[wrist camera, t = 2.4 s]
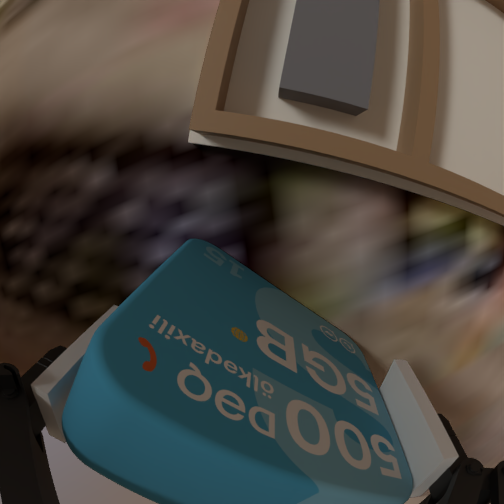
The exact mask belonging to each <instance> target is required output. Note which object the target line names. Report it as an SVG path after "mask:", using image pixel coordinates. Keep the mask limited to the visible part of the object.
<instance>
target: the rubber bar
mask: <svg viewBox="0 0 504 504" xmlns="http://www.w3.org/2000/svg"><path fill="white" fill-rule="evenodd" d="M379 2H380V0H296V5H295V10H294V15H293V20H292V25H291V30H290V35H289V40H288V45H287V50H286V55H285V60H284V65H283V70H282V75H281V81H280V86H279V93H278V98H283V99H288V100H293V101H298V102H302V103H307V104H311V105H315V106H320V107H324V108H328V109H332V110H336V111H339V112H343V113H347V114H350V115H354V116H357V115H359V114H361V113H362V112H364V111H366V110H368V107H369V100H370V93H371V86H372V78H373V70H374V61H375V52H376V42H377V31H378V18H379Z"/></svg>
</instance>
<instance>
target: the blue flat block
mask: <svg viewBox="0 0 504 504" xmlns="http://www.w3.org/2000/svg"><path fill="white" fill-rule="evenodd" d="M62 430H63V434H64V437H65V440H66V442H67V444H68V446H69V447H70V449H71V450H72V452H73V453H74V454H75V455H76V456H77V457H78V459H79V460H81V461H82V462H83V463H84V464H85V465H87V466H88V467H90V468H92V469H93V470H94V471H96V472H98V473H99V474H101V475H103V476H105V477H106V478H108V479H110V480H112V481H114V482H116V483H117V484H119V485H121V486H123V487H125V488H127V489H129V490H131V491H133V492H135V493H137V494H139V495H141V496H143V497H145V498H147V499H149V500H152V501H154V502H156V503H159V504H404V503H405V502H406V501H407V500H408V499H409V498H410V496H411V494H412V490H413V480H412V475H411V472H410V469H409V467H408V464H407V461H406V458H405V456H404V453H403V450H402V448H401V445H400V442H399V440H398V437H397V434H396V432H395V429H394V427H393V424H392V422H391V419H390V417H389V414H388V412H387V409H386V407H385V404H384V402H383V399H382V397H381V395H380V392H379V390H378V387H377V385H376V383H375V380H374V378H373V376H372V373H371V371H370V369H369V367H368V364H367V362H366V360H365V357H364V355H363V353H362V352H361V350H360V349H359V347H358V346H357V345H356V344H355V343H354V342H353V340H352V339H350V338H349V337H348V336H347V335H346V334H345V333H343V332H342V331H340V330H339V329H337V328H336V327H334V326H333V325H331V324H330V323H328V322H327V321H325V320H324V319H322V318H321V317H319V316H318V315H316V314H315V313H313V312H312V311H310V310H309V309H307V308H306V307H305V306H303V305H302V304H300V303H299V302H297V301H296V300H294V299H293V298H291V297H290V296H288V295H287V294H285V293H284V292H282V291H281V290H279V289H278V288H276V287H275V286H273V285H272V284H270V283H269V282H268V281H266V280H265V279H263V278H262V277H260V276H259V275H257V274H256V273H254V272H253V271H251V270H250V269H249V268H247V267H246V266H244V265H243V264H241V263H240V262H238V261H237V260H235V259H234V258H233V257H231V256H230V255H228V254H227V253H225V252H224V251H222V250H221V249H219V248H218V247H216V246H214V245H213V244H211V243H209V242H206V241H204V240H200V239H190V240H188V241H186V242H185V243H184V244H183V245H182V246H181V247H180V248H179V249H178V250H177V251H175V252H174V253H173V254H172V255H171V256H170V257H169V258H168V259H167V260H166V261H165V262H164V263H163V264H162V265H161V266H160V267H159V268H157V269H156V270H155V271H154V272H153V273H152V274H151V275H150V276H149V277H148V278H147V279H146V280H145V281H144V282H143V283H142V284H141V285H140V286H139V287H138V288H137V289H136V290H135V291H134V292H133V293H132V294H131V295H130V296H129V297H128V298H127V299H126V300H125V301H124V302H123V303H122V304H121V305H120V306H119V307H118V308H117V309H116V310H115V311H114V312H113V313H112V314H111V315H110V316H109V317H108V318H107V319H106V320H105V321H104V322H103V323H102V324H101V325H100V326H99V327H98V328H97V330H96V331H95V332H94V334H93V336H92V338H91V340H90V343H89V345H88V347H87V350H86V352H85V355H84V357H83V359H82V362H81V364H80V367H79V369H78V372H77V375H76V377H75V380H74V382H73V385H72V388H71V390H70V393H69V396H68V399H67V401H66V404H65V407H64V410H63V414H62Z"/></svg>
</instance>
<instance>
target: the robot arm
mask: <svg viewBox="0 0 504 504" xmlns="http://www.w3.org/2000/svg"><path fill="white" fill-rule="evenodd" d="M118 307H119V306H116V305H113V306H112V307H111V308H110V309H109V310H108V311H107V312H106V313H105V314H104V315H102V316H101V317H100V318H99V319H98V320H97V321H96V322H95V323H94V324H93V325H92V326H91V327H89V328H88V329H87V330H86V331H85V332H84V333H83V334H82V335H81V336H80V337H79V338H78V339H77V340H76V341H75V342H74V343H72V344H71V345H70V346H69V347H68V348H65V347H63V346H58V347H56V348H54V349H51V350H50V351H49V352H48V353H47V354H45V355H44V356H43V358H41V359H40V360H39V361H38V363H36V364H35V365H34V366H33V367H31V368H30V369H29V370H28V371H27V372H26V373H25V374H24V375H23V376H22V377H20V374H19V371H18V369H17V368H16V367H15V366H14V365H12V364H9V363H1V364H0V494H1V499H2V504H60V503H59V500H58V497H57V494H56V490H55V487H54V483H53V479H52V476H51V472H50V468H49V464H48V459H47V454H46V450H45V445H44V440H43V435H42V433H41V431H42V430H43V428H44V427H45V426H46V428H47V430H48V433H49V435H51V436H53V437H55V438H56V439H59V440H60V441H63V442H64V443H65V442H66V440H65V437H64V434H63V430H62V414H63V410H64V407H65V404H66V401H67V399H68V396H69V393H70V390H71V388H72V385H73V382H74V380H75V377H76V375H77V372H78V369H79V367H80V364H81V362H82V359H83V357H84V355H85V352H86V350H87V347H88V345H89V343H90V340H91V338H92V336H93V334H94V332H95V331H96V330H97V328H98V327H99V326H100V325H101V324H102V323H103V322H104V321H105V320H106V319H107V318H108V317H109V316H110V315H111V314H112V313H113V312H114V311H115V310H116V309H117V308H118ZM379 392H380V395H381V397H382V399H383V402H384V404H385V407H386V409H387V412H388V414H389V417H390V419H391V422H392V424H393V427H394V429H395V432H396V434H397V437H398V440H399V442H400V445H401V448H402V450H403V453H404V456H405V458H406V461H407V464H408V467H409V469H410V472H411V475H412V480H413V490H412V494H411V496H410V498H412V497H418V496H421V495H422V494H423V493H424V492H425V491H426V490H427V489H428V488H429V490H430V493H431V494H430V495H429V496H427V497H426V498H425V499H424V500H423V501H422V502H421V503H420V504H489V503H491V504H504V461H501V462H500V463H499V464H498V465H497V466H496V467H495V468H484V467H483V465H482V464H481V463H480V462H479V461H478V460H476V459H474V458H468V457H467V455H466V453H465V451H464V450H463V448H462V446H461V444H460V442H459V440H458V438H457V436H455V435H456V434H455V432H454V431H453V430H452V427H451V425H450V423H449V421H448V420H447V419H446V418H445V417H444V416H443V415H442V414H437V413H436V411H435V409H434V407H433V405H432V404H431V402H430V400H429V398H428V396H427V395H426V393H425V391H424V389H423V388H422V386H421V384H420V382H419V381H418V379H417V377H416V375H415V374H414V372H413V370H412V369H411V367H410V365H409V364H408V362H407V360H398V359H394V361H393V363H392V365H391V367H390V369H389V371H388V373H387V375H386V377H385V379H384V381H383V383H382V385H381V387H380V389H379Z"/></svg>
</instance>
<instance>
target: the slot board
mask: <svg viewBox="0 0 504 504" xmlns="http://www.w3.org/2000/svg"><path fill="white" fill-rule="evenodd" d="M295 5H296V0H220V3H219V6H218V10H217V13H216V17H215V20H214V24H213V27H212V31H211V35H210V38H209V42H208V46H207V50H206V54H205V58H204V62H203V66H202V70H201V75H200V79H199V83H198V88H197V92H196V97H195V102H194V106H193V111H192V116H191V121H190V126H189V130H190V134H189V139H188V142H189V143H192V144H200V145H207V146H214V147H221V148H227V149H233V150H239V151H245V152H251V153H256V154H262V155H267V156H272V157H277V158H282V159H287V160H292V161H297V162H301V163H306V164H310V165H315V166H319V167H323V168H328V169H332V170H336V171H340V172H344V173H348V174H351V175H355V176H359V177H363V178H366V179H370V180H374V181H377V182H381V183H384V184H387V185H391V186H394V187H397V188H401V189H404V190H407V191H410V192H413V193H417V194H420V195H423V196H426V197H429V198H432V199H435V200H437V201H440V202H443V203H446V204H449V205H452V206H454V207H457V208H460V209H462V210H465V211H468V212H470V213H473V214H476V215H478V216H481V217H483V218H486V219H488V220H491V221H493V222H495V223H498V224H500V225H503V226H504V0H380V2H379V18H378V31H377V42H376V52H375V61H374V70H373V78H372V86H371V93H370V100H369V107H368V110H366V111H364V112H362V113H361V114H359V115H357V116H354V115H350V114H347V113H343V112H339V111H336V110H332V109H328V108H324V107H320V106H315V105H311V104H307V103H302V102H298V101H293V100H288V99H283V98H278V93H279V86H280V81H281V75H282V70H283V65H284V60H285V55H286V50H287V45H288V40H289V35H290V30H291V25H292V20H293V15H294V10H295Z"/></svg>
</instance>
